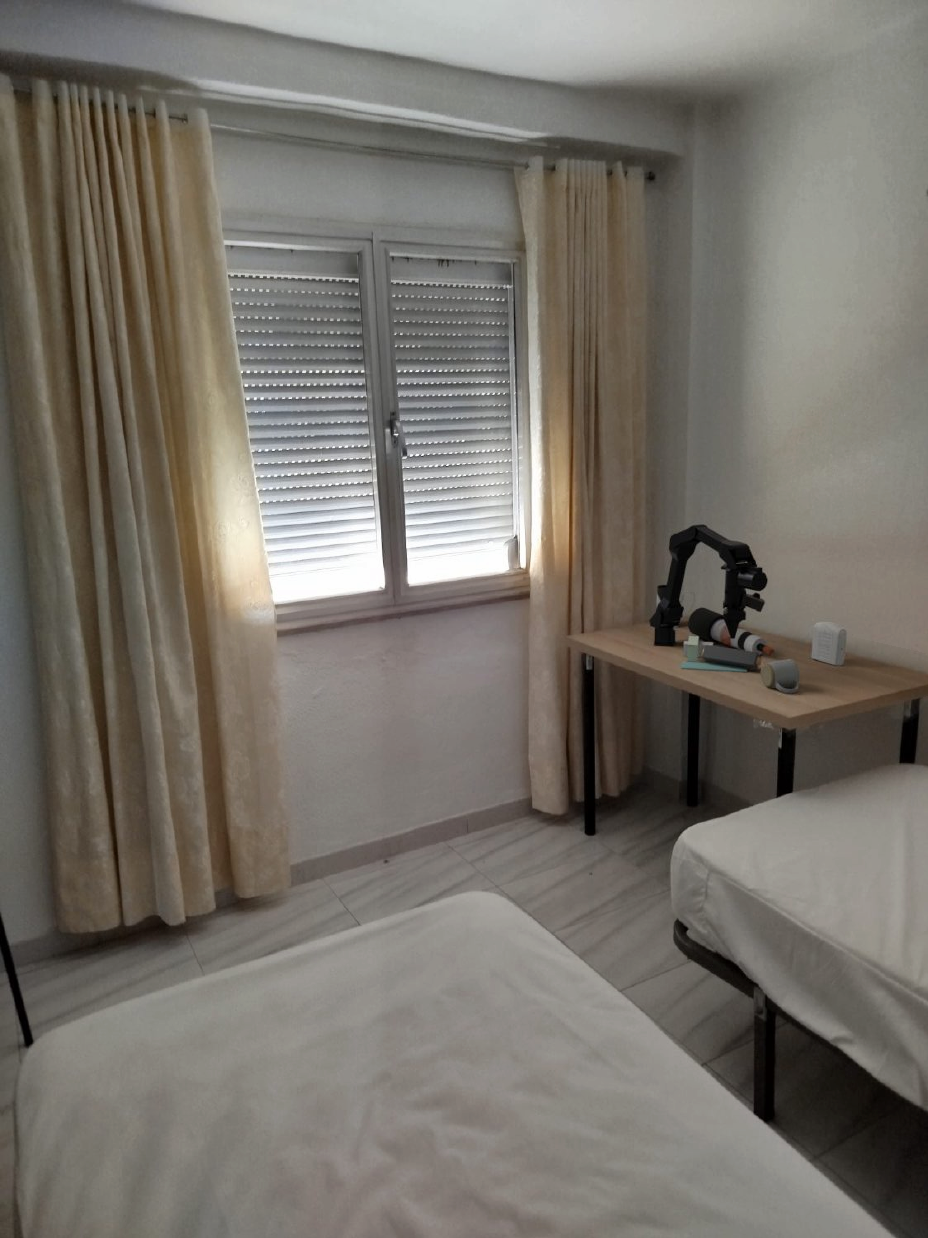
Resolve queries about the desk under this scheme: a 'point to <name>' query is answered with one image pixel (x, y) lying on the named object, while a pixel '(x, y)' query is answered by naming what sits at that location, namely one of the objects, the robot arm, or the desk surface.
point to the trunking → (700, 647)
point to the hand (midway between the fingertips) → (732, 637)
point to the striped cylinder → (724, 632)
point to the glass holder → (661, 594)
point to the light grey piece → (692, 648)
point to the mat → (712, 667)
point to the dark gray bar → (731, 657)
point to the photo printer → (829, 643)
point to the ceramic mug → (781, 675)
